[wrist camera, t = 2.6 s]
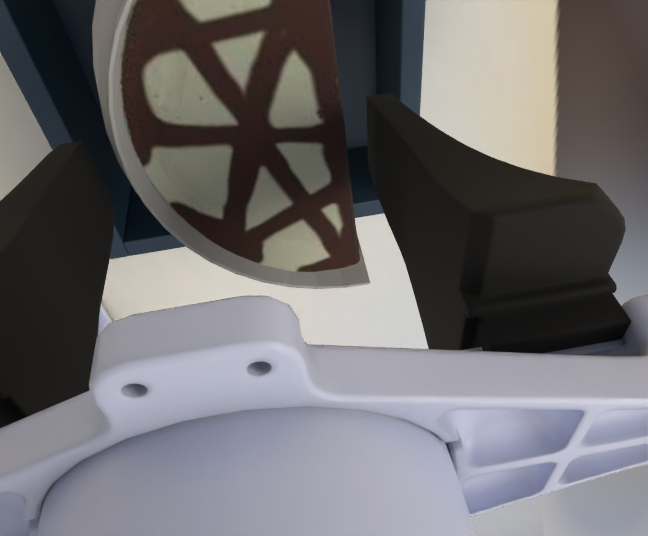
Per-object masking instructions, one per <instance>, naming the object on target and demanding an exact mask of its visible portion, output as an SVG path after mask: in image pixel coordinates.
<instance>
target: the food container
mask: <svg viewBox="0 0 648 536" xmlns="http://www.w3.org/2000/svg"><path fill="white" fill-rule="evenodd" d="M92 37H93V67H94V72H95V78H96V83H97V88H98V94H99V99H100V104H101V109H102V114H103V119H104V124H105V129H106V132H107V135H108V137H109V140H110V143H111V145H112V148H113V150H114V153H115V155H116V158H117V161H118V163H119V165H120V166H121V168H122V170H123V171H124V173H125V175H126V176H127V178H128V180H129V181H130V183H131V185H132V186H133V188H134V190H135V191H136V193H137V194H138V195H139V196H140V198H141V200H142V201H143V203H144V205H145V206H146V207H147V208H148V209H149V210H150V212H151V213H152V214H153V215H154V216H155V218H156V219H157V220H158V221H159V222H160V223H161V225H162V226H163V227H164V228H165V229H166V230H167V231H169V232H170V233H171V234H172V235H173V236H174V237H176V238H177V239H178V240H179V241H180V242H181V243H183V244H184V245H185V246H186V247H187V248H189V249H191V250H192V251H194V252H195V253H197V254H198V255H200V256H202V257H203V258H205V259H206V260H208V261H210V262H211V263H213V264H216V265H218V266H220V267H222V268H224V269H227V270H229V271H231V272H233V273H235V274H238V275H241V276H245V277H248V278H251V279H254V280H257V281H261V282H265V283H270V284H276V285H281V286H287V287H296V288H311V289H326V288H346V287H352V286H359V285H366V284H370V281H369V277H368V273H367V270H366V266H365V262H364V258H363V255H362V251H361V247H360V244H359V240H358V236H357V233H356V226H355V217H354V207H353V198H352V189H351V181H350V172H349V163H348V152H347V142H346V131H345V121H344V113H343V106H342V98H341V91H340V83H339V76H338V68H337V59H336V50H335V41H334V33H333V24H332V15H331V6H330V0H96V4H95V10H94V17H93V24H92Z"/></svg>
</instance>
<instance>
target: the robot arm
mask: <svg viewBox="0 0 648 536" xmlns="http://www.w3.org/2000/svg"><path fill="white" fill-rule="evenodd" d="M366 110H367V146H368V165H369V169H370V173H371V177H372V180H373V184H374V188H375V191H376V194H377V197H378V199H379V202H380V204H381V206H382V209H383V211H384V213H385V216H386V218H387V221H388V223H389V225H390V228H391V230H392V232H393V235H394V237H395V239H396V242H397V244H398V246H399V249H400V251H401V253H402V256H403V259H404V261H405V264H406V267H407V271H408V274H409V278H410V281H411V284H412V288H413V291H414V295H415V298H416V302H417V306H418V309H419V313H420V317H421V320H422V324H423V328H424V332H425V336H426V340H427V344H428V347H429V349H411V348H385V347H359V346H333V345H309V344H306V343H305V342H304V339H303V337H302V334H301V329H300V324H299V319H298V317H297V316H296V314H295V313H294V311H293V310H292V308H291V307H290V305H288V304H286V303H283V302H281V301H279V300H276V299H274V298H271V297H269V296H239V297H233V298H227V299H221V300H216V301H210V302H204V303H198V304H192V305H186V306H180V307H174V308H168V309H162V310H157V311H151V312H145V313H139V314H133V315H130V316H128V317H125V318H122V319H120V320H117V321H114V322H112V320H111V318H110V317H109V315H108V313H107V312H106V310H105V308H104V307H103V305H102V303H101V300H102V295H103V290H104V285H105V280H106V274H107V269H108V264H109V259H110V253H111V248H112V242H113V236H114V202H113V200H112V198H111V196H110V194H109V191H108V189H107V187H106V185H105V183H104V181H103V179H102V177H101V174H100V172H99V170H98V168H97V166H96V164H95V162H94V160H93V158H92V155H91V153H90V151H89V149H88V147H87V145H86V143H85V141H77V142H71V143H64V144H60V145H58V146H57V147H56V148H55V149H53V150H52V151H51V152H50V153H49V154H48V155H47V156H46V157H45V158H44V159H43V160H42V161H41V162H40V163H39V164H38V165H37V166H36V167H35V168H34V169H33V170H32V171H31V172H30V173H29V174H28V175H27V176H26V177H25V178H24V179H23V180H22V181H21V182H20V183H19V184H18V185H17V186H16V187H15V188H14V189H13V190H12V191H11V192H10V193H9V194H8V195H6V196H5V197H4V198H3V199H2V200H1V201H0V536H477V535H476V532H475V529H474V526H473V523H472V520H471V517H472V516H475V515H479V514H482V513H485V512H488V511H492V510H495V509H498V508H501V507H504V506H508V505H511V504H514V503H517V502H521V501H524V500H527V499H530V498H534V497H537V496H540V495H543V494H546V493H550V492H553V491H556V490H559V489H562V488H565V487H569V486H572V485H575V484H579V483H581V482H585V481H588V480H592V479H595V478H599V477H602V476H606V475H609V474H612V473H616V472H619V471H623V470H626V469H630V468H634V467H638V466H642V465H646V464H648V295H644V296H639V297H636V298H632V299H630V300H629V301H627V302H625V303H624V304H623V305H622V306H621V305H620V304H619V302H618V301H617V300H616V298H615V297H614V295H613V294H612V293H614V292H615V291H616V284H615V282H614V281H613V280H612V278H611V277H610V275H609V274H608V272H609V270H610V268H611V265H612V263H613V261H614V259H615V256H616V254H617V252H618V250H619V247H620V245H621V243H622V240H623V237H624V233H625V220H624V217H623V216H622V214H621V213H620V211H619V210H618V208H617V207H616V206H615V205H614V203H613V202H612V201H611V200H610V198H609V197H608V196H607V195H606V194H605V193H604V192H603V190H602V189H601V188H600V187H599V186H598V185H597V184H595V183H590V182H583V181H577V180H571V179H565V178H559V177H555V176H550V175H546V174H542V173H538V172H534V171H531V170H527V169H524V168H520V167H517V166H514V165H511V164H509V163H506V162H503V161H500V160H497V159H495V158H492V157H490V156H488V155H485V154H483V153H481V152H479V151H477V150H475V149H473V148H470V147H468V146H466V145H464V144H463V143H461V142H459V141H457V140H456V139H454V138H452V137H450V136H449V135H447V134H445V133H444V132H442V131H441V130H439V129H438V128H436V127H435V126H433V125H432V124H430V123H429V122H427V121H426V120H424V119H423V118H422V117H420V116H419V115H418V114H416V113H415V112H414V111H412V110H411V109H410V108H408V107H407V106H406V105H404V104H403V103H402V102H401V101H399V100H398V99H397V98H395V97H394V96H393V95H391V94H390V93H388V94H382V95H375V96H369V97H366Z"/></svg>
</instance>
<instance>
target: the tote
mask: <svg viewBox="0 0 648 536" xmlns="http://www.w3.org/2000/svg"><path fill="white" fill-rule="evenodd" d="M425 1H426V0H330V6H331V15H332V24H333V33H334V41H335V50H336V59H337V68H338V76H339V83H340V91H341V98H342V106H343V113H344V121H345V131H346V142H347V152H348V163H349V172H350V181H351V189H352V198H353V207H354V217H355V218H358V217H364V216H370V215H376V214H382V213H384V211H383V209H382V206H381V204H380V202H379V199H378V197H377V194H376V191H375V188H374V184H373V180H372V177H371V173H370V169H369V165H368V146H367V110H366V97H369V96H375V95H382V94H388V93H390V94H391V95H393V96H394V97H395V98H397V99H398V100H399V101H401V102H402V103H403V104H404V105H406V106H407V107H408V108H410V109H411V110H412V111H414V112H415V113H416V114H418V115H419V116H420V102H421V81H422V61H423V41H424V21H425ZM95 4H96V0H0V52H1V54H2V56H3V57H4V59H5V61H6V63H7V65H8V67H9V69H10V71H11V73H12V74H13V76H14V78H15V80H16V82H17V84H18V86H19V88H20V89H21V91H22V93H23V95H24V97H25V99H26V101H27V103H28V105H29V106H30V108H31V110H32V112H33V114H34V116H35V118H36V120H37V121H38V123H39V125H40V127H41V129H42V131H43V133H44V135H45V137H46V138H47V140H48V142H49V144H50V146H51V148H52V150H53V149H55V148H56V147H57V146H58V145H60V144H64V143H71V142H77V141H85V143H86V145H87V147H88V149H89V151H90V153H91V155H92V158H93V160H94V162H95V164H96V166H97V168H98V170H99V172H100V174H101V177H102V179H103V181H104V183H105V185H106V187H107V189H108V191H109V194H110V196H111V198H112V200H113V202H114V236H113V242H112V248H111V253H110V259H114V258H120V257H126V256H129V255H130V256H131V255H137V254H143V253H149V252H155V251H161V250H167V249H173V248H179V247H185V245H184V244H183V243H181V242H180V241H179V240H178V239H177V238H176V237H174V236H173V235H172V234H171V233H170V232H169V231H167V230H166V229H165V228H164V227H163V226H162V225H161V223H160V222H159V221H158V220H157V219H156V218H155V216H154V215H153V214H152V213H151V212H150V210H149V209H148V208H147V207H146V206H145V205H144V203H143V201H142V200H141V198H140V196H139V195H138V194H137V193H136V191H135V190H134V188H133V186H132V185H131V183H130V181H129V180H128V178H127V176H126V175H125V173H124V171H123V170H122V168H121V166H120V165H119V163H118V161H117V158H116V155H115V153H114V150H113V148H112V145H111V143H110V140H109V137H108V135H107V132H106V129H105V124H104V119H103V114H102V109H101V104H100V99H99V94H98V88H97V83H96V78H95V72H94V67H93V37H92V24H93V17H94V10H95Z"/></svg>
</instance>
